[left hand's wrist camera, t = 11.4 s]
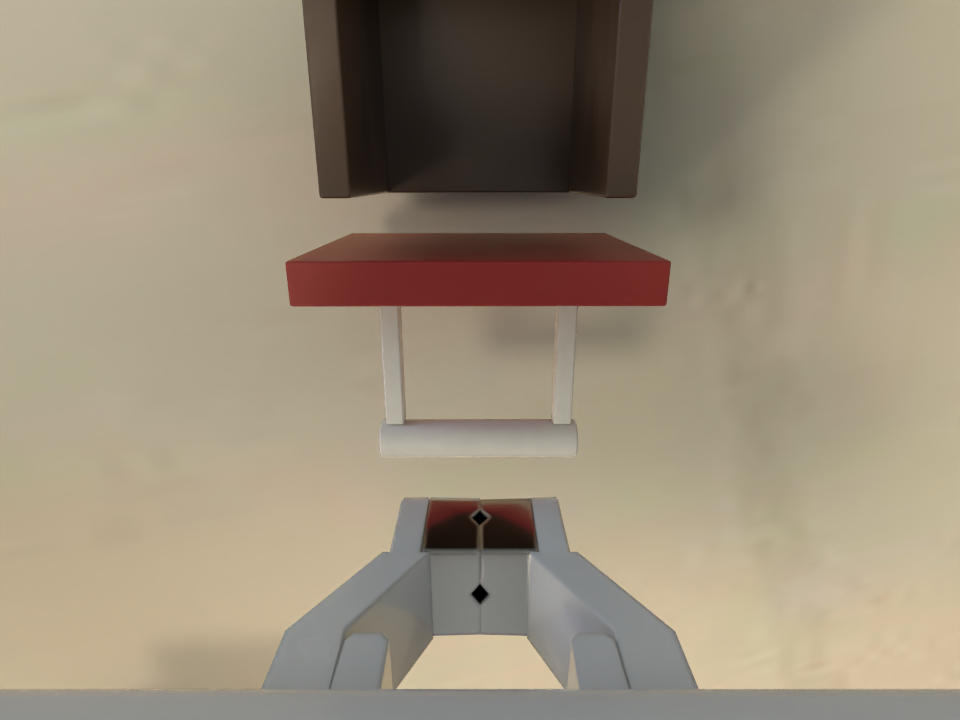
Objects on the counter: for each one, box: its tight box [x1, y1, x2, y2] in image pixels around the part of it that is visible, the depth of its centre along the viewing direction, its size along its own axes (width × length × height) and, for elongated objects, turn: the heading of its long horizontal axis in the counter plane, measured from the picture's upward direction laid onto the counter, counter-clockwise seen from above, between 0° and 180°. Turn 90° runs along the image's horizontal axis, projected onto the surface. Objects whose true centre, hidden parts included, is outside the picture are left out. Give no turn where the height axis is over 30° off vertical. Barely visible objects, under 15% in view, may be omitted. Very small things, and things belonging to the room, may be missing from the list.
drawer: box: [286, 0, 671, 458], centre depth 16 cm, size 22×10×8 cm, turn 0°
